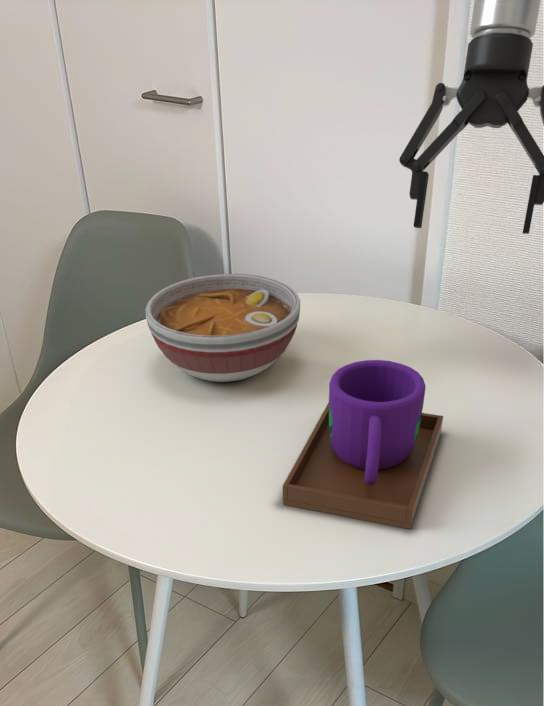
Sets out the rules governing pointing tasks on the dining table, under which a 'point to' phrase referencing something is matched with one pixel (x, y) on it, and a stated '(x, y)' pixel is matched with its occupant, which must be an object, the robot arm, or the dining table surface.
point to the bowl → (223, 324)
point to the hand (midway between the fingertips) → (470, 230)
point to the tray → (361, 479)
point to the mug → (375, 414)
